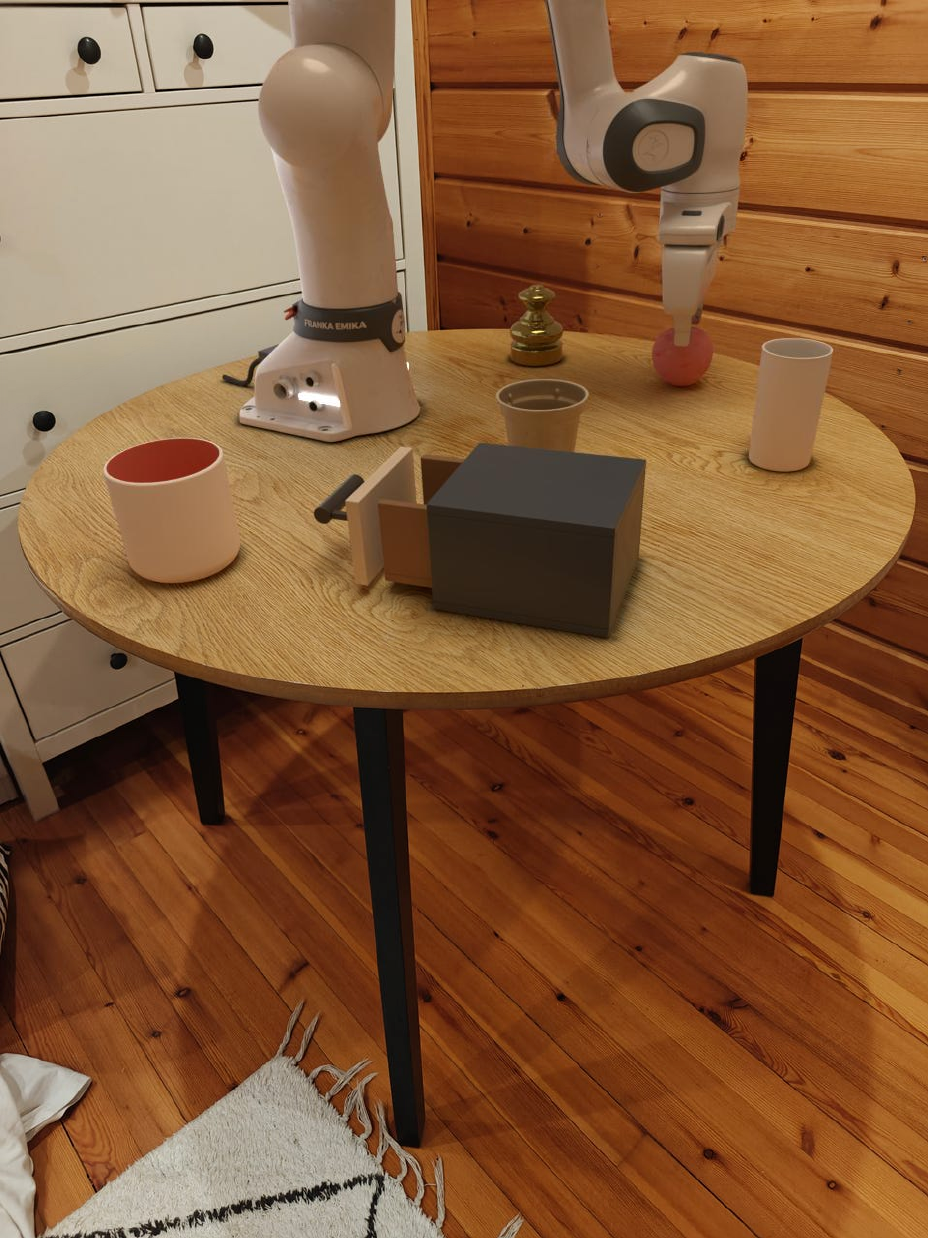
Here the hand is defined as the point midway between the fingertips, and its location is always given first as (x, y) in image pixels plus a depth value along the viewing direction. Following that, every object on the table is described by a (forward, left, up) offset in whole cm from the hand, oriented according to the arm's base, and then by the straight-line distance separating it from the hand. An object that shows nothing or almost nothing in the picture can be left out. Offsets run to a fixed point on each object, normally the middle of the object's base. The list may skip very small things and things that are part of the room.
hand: (687, 333), depth 113 cm
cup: (-36, -58, -7) cm, 69 cm away
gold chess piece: (-21, +6, -7) cm, 23 cm away
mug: (+13, -20, -7) cm, 25 cm away
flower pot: (-10, -31, -7) cm, 33 cm away
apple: (0, 0, -7) cm, 7 cm away
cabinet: (-4, -53, -7) cm, 54 cm away
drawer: (-14, -53, -6) cm, 55 cm away
